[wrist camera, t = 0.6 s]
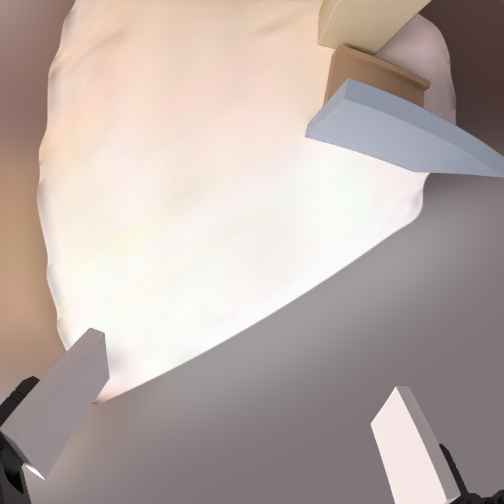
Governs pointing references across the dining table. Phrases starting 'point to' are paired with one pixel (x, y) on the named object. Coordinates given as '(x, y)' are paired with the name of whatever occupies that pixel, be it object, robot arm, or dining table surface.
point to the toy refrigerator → (364, 22)
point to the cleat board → (394, 120)
